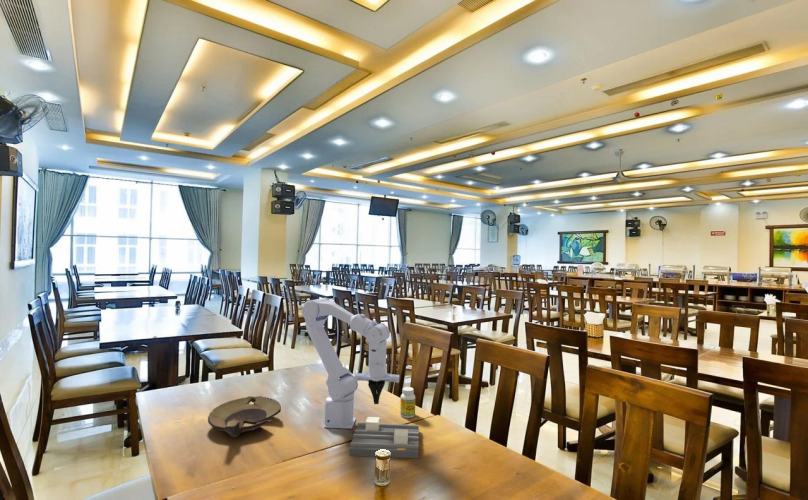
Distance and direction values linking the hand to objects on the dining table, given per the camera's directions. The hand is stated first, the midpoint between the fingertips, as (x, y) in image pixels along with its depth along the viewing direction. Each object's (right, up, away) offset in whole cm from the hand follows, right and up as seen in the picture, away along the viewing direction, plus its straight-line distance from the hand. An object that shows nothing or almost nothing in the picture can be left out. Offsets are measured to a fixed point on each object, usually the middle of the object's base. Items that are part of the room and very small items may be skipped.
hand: (376, 403), depth 130 cm
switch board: (+4, -10, -7) cm, 12 cm away
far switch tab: (-1, -7, -3) cm, 8 cm away
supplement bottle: (+10, -10, +14) cm, 20 cm away
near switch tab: (+8, -7, -11) cm, 16 cm away
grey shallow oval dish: (-45, -9, +1) cm, 46 cm away
